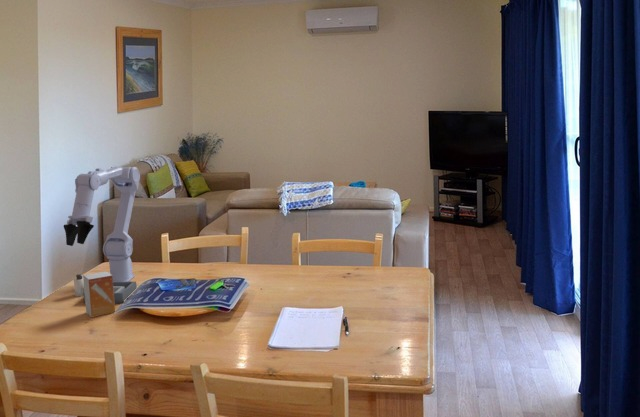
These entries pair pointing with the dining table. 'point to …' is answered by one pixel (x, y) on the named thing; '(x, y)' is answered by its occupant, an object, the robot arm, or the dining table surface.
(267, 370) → the dining table surface
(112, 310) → the small box
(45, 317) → the dining table surface
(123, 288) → the walled box
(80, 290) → the bottle
